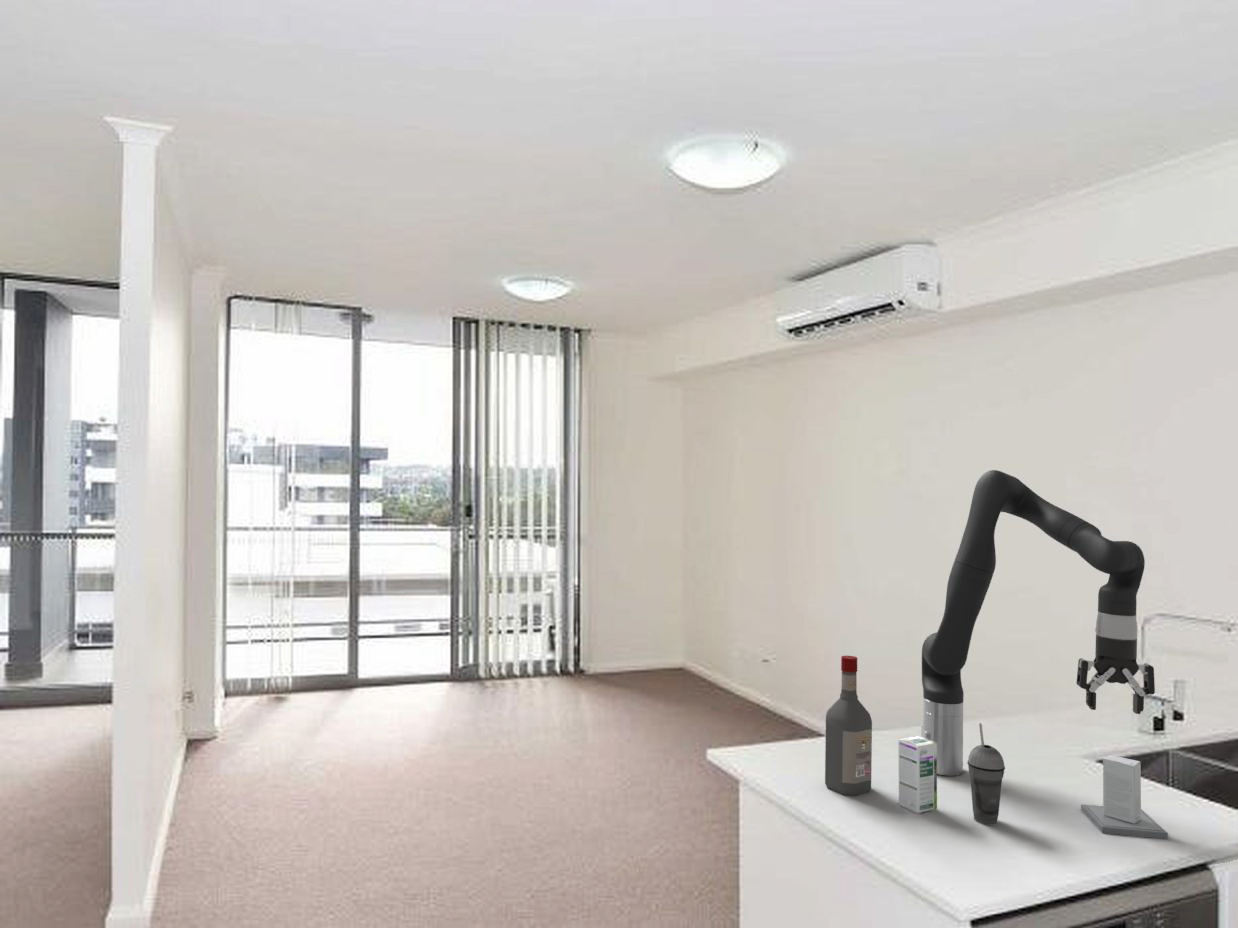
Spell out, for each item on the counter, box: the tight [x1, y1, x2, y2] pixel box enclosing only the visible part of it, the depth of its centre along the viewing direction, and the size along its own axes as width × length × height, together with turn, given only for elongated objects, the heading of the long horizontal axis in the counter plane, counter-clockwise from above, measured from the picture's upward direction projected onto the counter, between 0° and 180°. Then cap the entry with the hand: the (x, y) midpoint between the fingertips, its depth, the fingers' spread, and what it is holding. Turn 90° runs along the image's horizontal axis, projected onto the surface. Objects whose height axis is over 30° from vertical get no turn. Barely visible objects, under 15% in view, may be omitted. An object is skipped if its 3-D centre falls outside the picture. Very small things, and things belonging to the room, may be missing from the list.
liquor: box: [824, 655, 873, 797], centre depth 188 cm, size 9×9×30 cm
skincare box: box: [1102, 754, 1142, 824], centre depth 171 cm, size 6×4×12 cm
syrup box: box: [898, 735, 938, 814], centre depth 178 cm, size 6×6×14 cm
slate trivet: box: [1080, 803, 1169, 840], centre depth 171 cm, size 12×12×1 cm
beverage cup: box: [966, 722, 1006, 826], centre depth 171 cm, size 7×7×20 cm
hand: (1114, 710), depth 174 cm, fingers open, 8 cm apart
